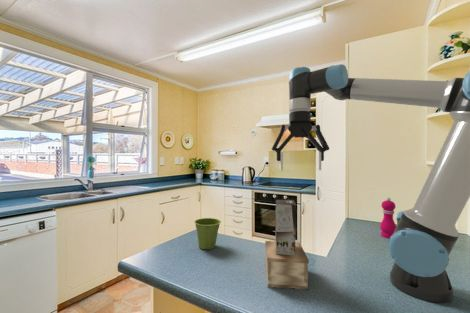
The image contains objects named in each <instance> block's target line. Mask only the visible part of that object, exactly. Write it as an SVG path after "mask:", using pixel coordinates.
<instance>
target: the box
mask: <svg viewBox="0 0 470 313" xmlns="http://www.w3.org/2000/svg"><path fill="white" fill-rule="evenodd" d="M308 266H309V264H308V263H289V262H270V261H267V255H266V254H265V273H266V274H265V275H266V283H267V286H268V287H267V288H273V287H276V289H277V288H278V289H289V288H295V290H305V289H309V288H308V287H309V286H308V283H309V282H308V279H309V270H308V269H309V267H308Z"/></svg>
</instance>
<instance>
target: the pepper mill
mask: <svg viewBox="0 0 470 313" xmlns="http://www.w3.org/2000/svg"><path fill="white" fill-rule="evenodd" d="M381 208H382V213H383V219H382V221H381V222H380V225H379V228H380V230H381V231H380V236H381V237H382V238H386V239H390V237H391V236H392V235H393V233H394V231H395V229H396V227H397V224H396V223H395V221H394V214H395V209H396V203H395V201H392V199H391V198H390V197H386V200H384V201H382V202H381Z"/></svg>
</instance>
